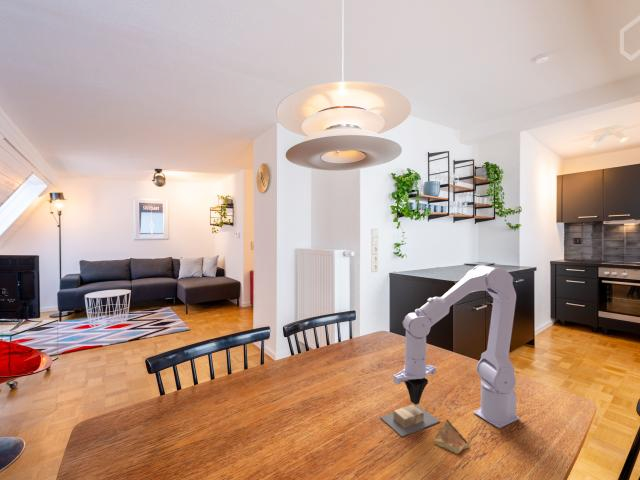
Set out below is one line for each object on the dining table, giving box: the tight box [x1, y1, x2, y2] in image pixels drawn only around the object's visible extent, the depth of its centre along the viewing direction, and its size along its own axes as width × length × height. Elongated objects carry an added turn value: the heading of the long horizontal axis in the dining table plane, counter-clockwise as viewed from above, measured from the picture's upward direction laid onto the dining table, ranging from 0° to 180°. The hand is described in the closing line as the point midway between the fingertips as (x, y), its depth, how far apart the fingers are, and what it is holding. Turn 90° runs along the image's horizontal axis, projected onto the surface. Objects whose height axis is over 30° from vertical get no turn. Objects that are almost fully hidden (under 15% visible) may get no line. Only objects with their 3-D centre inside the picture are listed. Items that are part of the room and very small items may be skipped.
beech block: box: [393, 404, 424, 428], centre depth 86 cm, size 2×4×7 cm
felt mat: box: [380, 404, 441, 438], centre depth 87 cm, size 14×9×1 cm, turn 117°
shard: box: [433, 419, 470, 454], centre depth 79 cm, size 11×8×2 cm
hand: (414, 402), depth 88 cm, fingers closed
